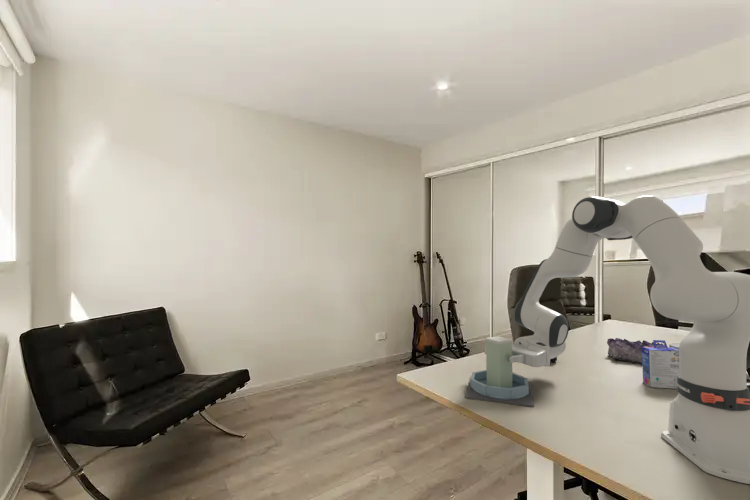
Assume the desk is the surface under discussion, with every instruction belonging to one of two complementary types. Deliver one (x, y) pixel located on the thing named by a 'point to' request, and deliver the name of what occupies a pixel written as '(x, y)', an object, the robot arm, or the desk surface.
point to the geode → (627, 349)
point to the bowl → (516, 392)
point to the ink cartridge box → (660, 365)
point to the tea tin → (498, 362)
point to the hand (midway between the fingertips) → (497, 355)
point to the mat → (523, 401)
